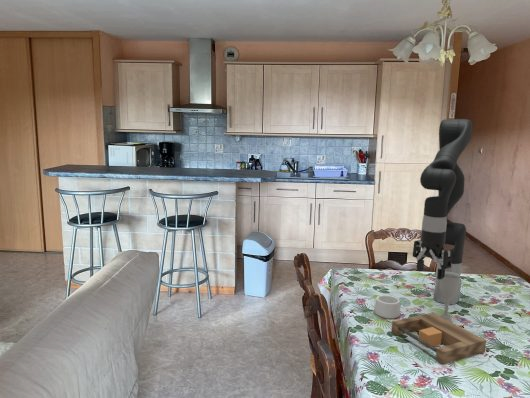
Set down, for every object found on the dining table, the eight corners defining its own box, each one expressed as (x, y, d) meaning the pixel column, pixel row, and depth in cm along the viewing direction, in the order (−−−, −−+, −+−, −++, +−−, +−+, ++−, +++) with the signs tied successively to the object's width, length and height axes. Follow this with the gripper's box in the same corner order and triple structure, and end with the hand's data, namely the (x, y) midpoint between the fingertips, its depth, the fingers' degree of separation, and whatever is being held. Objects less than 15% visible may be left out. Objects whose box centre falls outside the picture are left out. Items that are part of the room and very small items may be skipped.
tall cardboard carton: (431, 339, 141) (432, 326, 140) (440, 344, 137) (442, 332, 137) (418, 342, 138) (419, 330, 138) (427, 348, 135) (428, 335, 134)
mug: (395, 321, 153) (396, 306, 152) (370, 314, 159) (371, 299, 158) (405, 310, 163) (406, 296, 162) (381, 304, 168) (382, 290, 167)
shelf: (431, 322, 153) (432, 312, 152) (484, 351, 133) (486, 340, 133) (391, 332, 145) (392, 321, 144) (442, 364, 125) (443, 352, 125)
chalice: (455, 318, 157) (459, 273, 154) (456, 326, 150) (462, 279, 147) (434, 315, 159) (438, 270, 156) (435, 323, 153) (439, 276, 150)
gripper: (460, 232, 133) (455, 280, 136) (425, 222, 146) (421, 266, 149) (443, 235, 130) (438, 284, 133) (409, 224, 142) (406, 269, 146)
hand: (429, 274), depth 141 cm, fingers open, 8 cm apart
